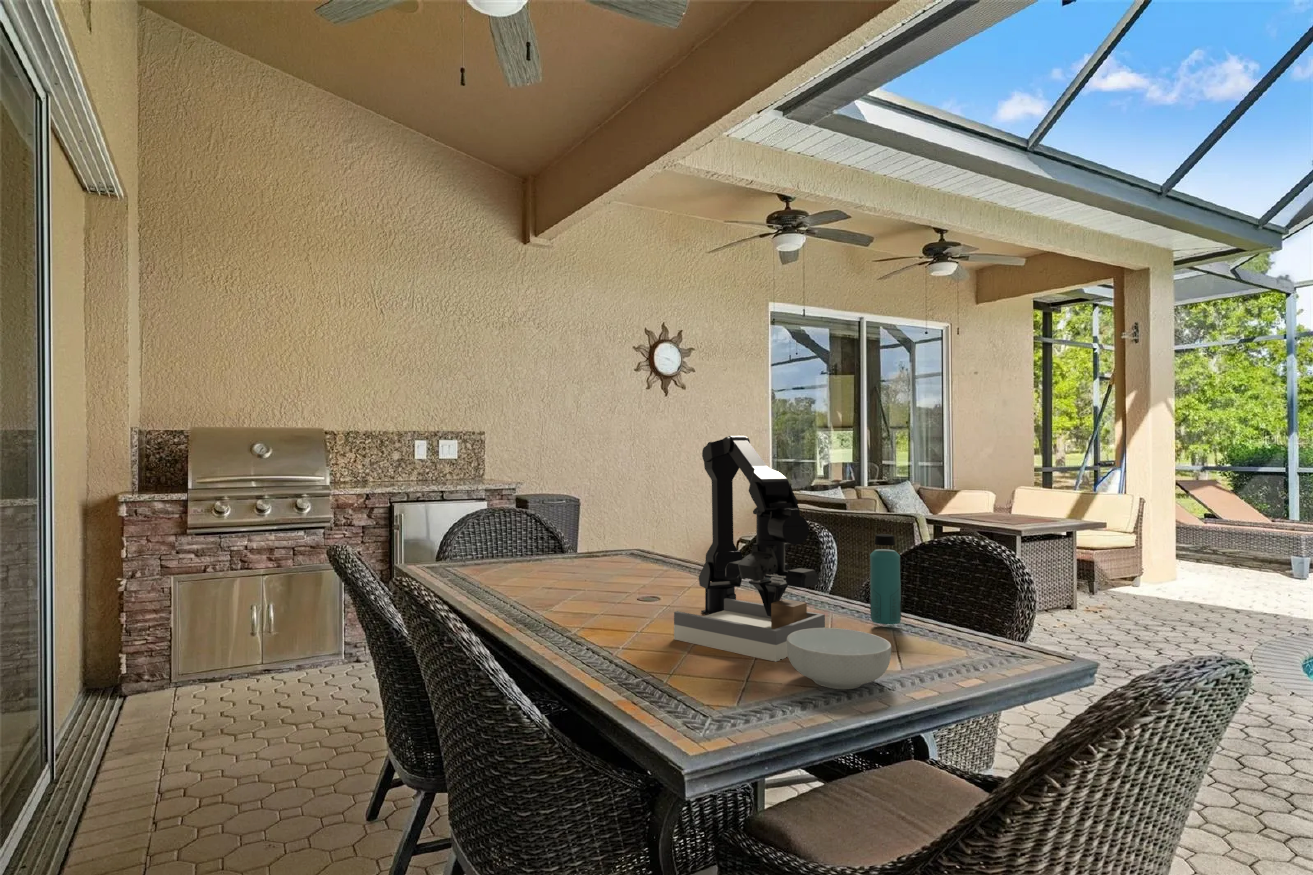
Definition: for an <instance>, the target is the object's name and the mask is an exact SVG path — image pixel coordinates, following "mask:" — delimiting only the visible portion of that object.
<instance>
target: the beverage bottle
mask: <svg viewBox="0 0 1313 875" xmlns="http://www.w3.org/2000/svg"><path fill="white" fill-rule="evenodd" d="M895 544H896V541H895V536H894V535H893V534H888V533H887V534H886V533H879V534H875V535H874V545H877V546H895ZM869 558H870V559H869V560H870V568H869V570H870V573H869V574H870V575H869V576H870V577H869V579H870V580H869V581H870V582H869V591H870V592H869V593H870V595H869V596H870V599H869V617H870V620H871V621H872V622H874V623H876V624H882V625H897V624H900V623H901V621H902V618H903V617H902V616H903V615H902V610H903V608H902V606H903V605H902V602H903V601H902V589H901V588H902V586H901V585H902V583H901V582H902V580H901V555H900V554H899V553H898V552H897V551H896V550H893V549H885V548H881V549H878V548H877V549H874V550H873V551H872V552H871V553H870V554H869Z"/></svg>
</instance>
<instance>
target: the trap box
mask: <svg viewBox="0 0 1313 875" xmlns="http://www.w3.org/2000/svg"><path fill="white" fill-rule="evenodd" d="M811 628H826V615H825V613H824V614H823V613H818V612H812V611H807V618H806V619H803V620H800V621H797V622H794V623H792V624H789V625H786V626H783V627H780V628H777V629H771V617H769V616H767V613H766V610H765V607H764V605H763V603H758V602H753V601H752V602H751V601H747V600H739V599H736V600H735V599H729V598H725V599H724V610H723V611H720V612H716V613H713V614H705V615H700V614H694V613H690V612H684V611H679V610H677V611H674V612H673V640H676V641H681V642H686V643H690V644H694V645H698V646H703V647H708V648H713V649H717V650H722V651H725V652H731V653H736V654H739V655H743V656H748V657H752V658H757V659H762V660H766V661H770V662H779V661H781V660H780V659H782V660H784V659H786V657H787V658H788V654H787V644H786V643H787V637H788V635H789V634H791V633H793V632H795V631H799V630H803V629H811Z"/></svg>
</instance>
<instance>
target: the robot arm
mask: <svg viewBox="0 0 1313 875" xmlns="http://www.w3.org/2000/svg"><path fill="white" fill-rule="evenodd" d="M701 456H702V460H703V465H704V470H705V471H706V473H707V476H708V477H709V478H710V480H711V515H712V516H711V522H712V523H711V524H712V526H711V527H712V528H711V529H712V532H711V533H712V543H711V544H710V547H709V548H708V550H707V552H706V553H705V563H704V565H703V566H702V568H701V571H700V573H699V575H698V583H699V586H700V587H702V588H703V589H705V591H704V592H705V593H704V594H705V595H704V598H705V599H704V600H705V603H704V604H705V607H704V609H703V610H701V611H700V613H702V614H705V615H709V614H713V613H716V612H720V611H723V610H724V599H725V598H729V599H735V600H737V593H736V590H735V589H736V588H741V584H742V580H749V581H748V584H749V585H752V586H753V587H754V588H755V589H756V590H757V592H758V594H759V596H760V599H761V601H762V604H763V605H764V607H765V610H766V613H767V616H769V617H771V603H774V602H777V601H781V600H782V597H783V596H784V594H785V591H786V590H787V588H788V587H793V588H800V589H804V588H808V587H813V586H815V585H816V586H817V585H818V584H819V574H818V573H817V571H816V570H815V569H812V568H811V569H808V568H802V567H799V568H798V567H797V568H794V569H790V570H788V569H789V563H786V550H788V549H789V545H792V546H799V545H801V544H803V543H804V542H805V541H806V540H807V538H808V537H809V533H810V526H809V524H808V521H807V520H806V518H805V517H803V516H802V515H800V514H801V512H800V511H801V510H800V509H799V505H798V504H799V501H798V499H797V496H796V494H795V493H794V490H793V488H792V486H791V483H790V482H789V479H788V478H787V477H786V476H785V475H783V473H781V472H779V471H778V470H775V469H772V468H770V467H769V466H768V465H767V464H766V462H765V461H764V460H763V458H762V457H761V456H760V455H759V453H758V452H757V451H756V449H755V448H754V446H752V444H751V440H750V439H749V437H748V436H746V435H728V436H726V437H724V438H722V439H718V440H716V441H709V442H707V444H706V445H705V446H704V447H703V448H702V452H701ZM739 470H740V471H741V472H742V473H743V475H744V477H745V478H746V479H747V480H748V483H749V485H748V486H749V487H748V493H749V495H750V497H751V500H752V501H753V503H754V504H755V506H756V507H754V509H753V510H752V514H753V515H756V525H755V526H756V529H755V530H756V533H755V534H756V536H755V537H756V538H755V540H756V543H752V546H751V551H750V553H749V554H747V555H746V556H744V557H743V554H742V551H741V550H739V549H738V548H737V546H736V545H735V541H734V493H733V492H734V491H733V485H734V484H733V482H734V481H733V480H734V478H735V477H736V475H737V473H738V472H739Z"/></svg>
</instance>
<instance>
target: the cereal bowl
mask: <svg viewBox="0 0 1313 875" xmlns="http://www.w3.org/2000/svg"><path fill="white" fill-rule="evenodd" d="M786 644H787V654H788V657H787V658H788V660H789V662H790V664H791V665H792V667H793V668H794V669H795V670H796V672H798V673H800V674H801V675H802V676H804V677H806V678H808V679H810V680H812V681H813V682H814V683H815V684H816V685H818V686H821V687H824V688H829V689H834V690H835V689H836V690H852V689H858V688H860V687H861V686H862V685H864V684H867V683H872V682H874V681H876V680H878V679H879V678H881V677H882V676H883V675H884V674H885V673H886V671H887V670H888V668H889V666H890V661H891V656H892V644H891V642H890V641H889V640H887V639H885V638H884V637H881V636H879V635H876V634H872V633H869V632H865V631H860V630H854V629H848V628H837V627H825V628H811V629H803V630H799V631H795V632H793V633H791V634H789V635H788V637H787V643H786Z"/></svg>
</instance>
